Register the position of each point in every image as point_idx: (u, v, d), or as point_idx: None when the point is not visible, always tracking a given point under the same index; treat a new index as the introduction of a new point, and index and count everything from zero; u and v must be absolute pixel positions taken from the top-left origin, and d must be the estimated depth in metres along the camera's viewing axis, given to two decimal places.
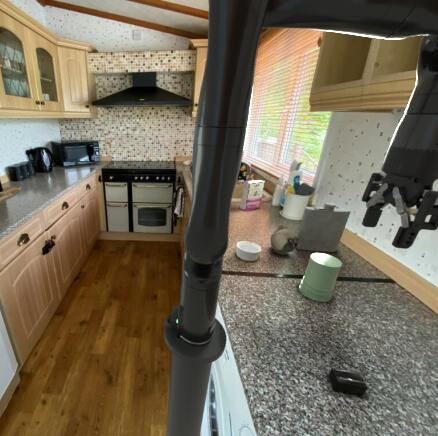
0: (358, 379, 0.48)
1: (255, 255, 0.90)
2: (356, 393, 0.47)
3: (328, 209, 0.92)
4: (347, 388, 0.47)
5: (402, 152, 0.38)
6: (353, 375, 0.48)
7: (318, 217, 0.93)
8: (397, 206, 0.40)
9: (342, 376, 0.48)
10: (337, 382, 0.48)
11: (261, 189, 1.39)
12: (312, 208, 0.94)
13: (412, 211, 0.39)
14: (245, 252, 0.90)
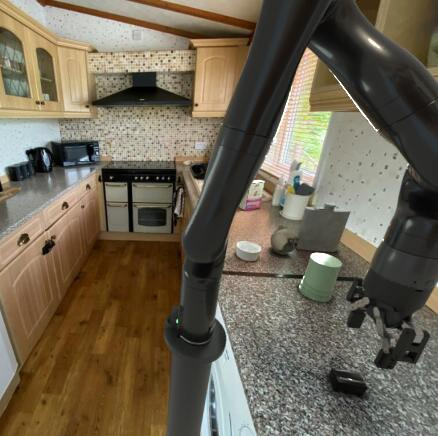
0: (358, 379, 0.48)
1: (255, 255, 0.90)
2: (356, 393, 0.47)
3: (328, 209, 0.92)
4: (347, 388, 0.47)
5: (381, 280, 0.38)
6: (353, 375, 0.48)
7: (318, 217, 0.93)
8: (378, 328, 0.40)
9: (342, 376, 0.48)
10: (337, 382, 0.48)
11: (261, 189, 1.39)
12: (312, 208, 0.94)
13: (392, 337, 0.39)
14: (245, 252, 0.90)
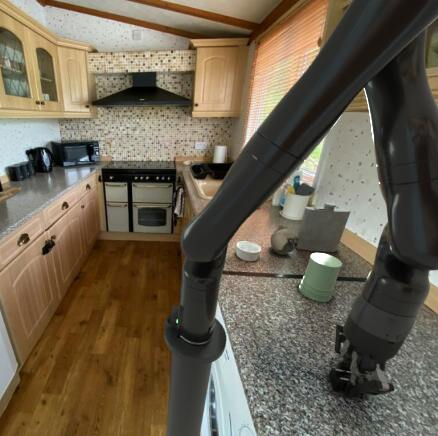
0: None
1: (255, 255, 0.90)
2: None
3: (328, 209, 0.92)
4: None
5: (358, 329, 0.42)
6: None
7: (318, 217, 0.93)
8: (351, 366, 0.45)
9: (342, 376, 0.48)
10: (337, 382, 0.48)
11: None
12: (312, 208, 0.94)
13: (361, 376, 0.44)
14: (245, 252, 0.90)
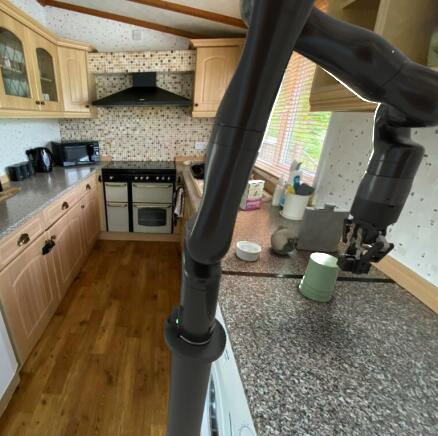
0: None
1: (255, 255, 0.90)
2: None
3: (328, 209, 0.92)
4: None
5: (363, 202, 0.48)
6: None
7: (318, 217, 0.93)
8: (357, 242, 0.51)
9: None
10: (344, 262, 0.54)
11: (261, 189, 1.39)
12: (312, 208, 0.94)
13: (365, 249, 0.51)
14: (245, 252, 0.90)
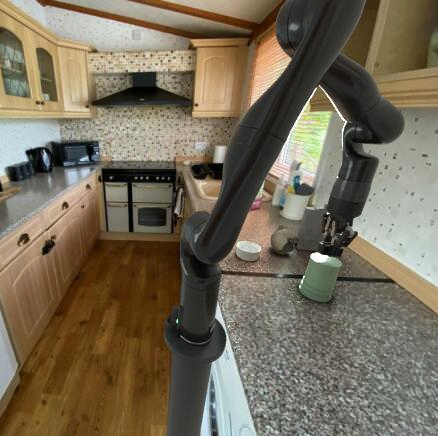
0: None
1: (255, 255, 0.90)
2: None
3: None
4: None
5: (335, 200, 0.62)
6: None
7: (318, 217, 0.93)
8: (331, 232, 0.66)
9: (326, 245, 0.69)
10: (322, 248, 0.68)
11: (261, 189, 1.39)
12: (312, 208, 0.94)
13: (338, 237, 0.65)
14: (245, 252, 0.90)
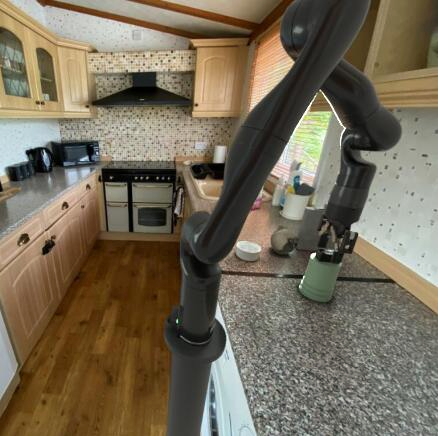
0: None
1: (255, 255, 0.90)
2: None
3: None
4: (327, 258, 0.69)
5: (333, 206, 0.63)
6: (332, 251, 0.70)
7: (318, 217, 0.93)
8: (332, 238, 0.65)
9: None
10: (320, 254, 0.69)
11: None
12: (312, 208, 0.94)
13: (340, 241, 0.64)
14: (245, 252, 0.90)
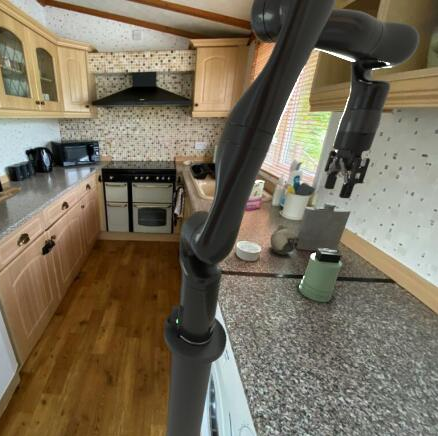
0: None
1: (255, 255, 0.90)
2: (333, 261, 0.69)
3: (328, 209, 0.92)
4: (327, 258, 0.69)
5: (343, 134, 0.59)
6: (332, 251, 0.70)
7: (318, 217, 0.93)
8: (341, 170, 0.61)
9: None
10: (320, 254, 0.69)
11: (261, 189, 1.39)
12: (312, 208, 0.94)
13: (350, 172, 0.60)
14: (245, 252, 0.90)
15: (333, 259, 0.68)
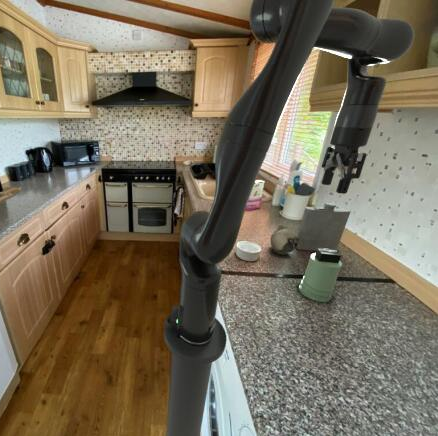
0: None
1: (255, 255, 0.90)
2: (333, 261, 0.69)
3: (328, 209, 0.92)
4: (327, 258, 0.69)
5: (339, 129, 0.60)
6: (332, 251, 0.70)
7: (318, 217, 0.93)
8: (338, 165, 0.62)
9: None
10: (320, 254, 0.69)
11: (261, 189, 1.39)
12: (312, 208, 0.94)
13: (347, 168, 0.60)
14: (245, 252, 0.90)
15: (333, 259, 0.68)
